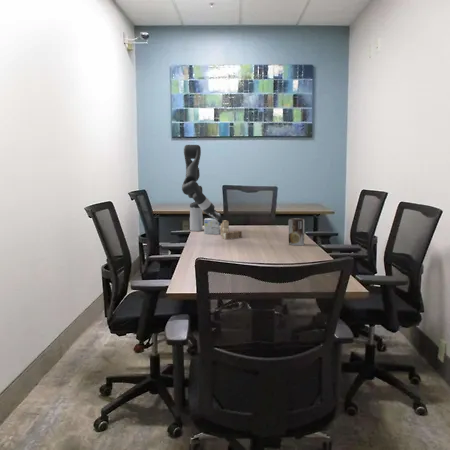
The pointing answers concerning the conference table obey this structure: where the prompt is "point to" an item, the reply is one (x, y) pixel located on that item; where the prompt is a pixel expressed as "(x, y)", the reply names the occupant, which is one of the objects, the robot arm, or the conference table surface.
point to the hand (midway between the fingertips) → (221, 222)
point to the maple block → (224, 226)
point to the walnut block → (231, 234)
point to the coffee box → (296, 231)
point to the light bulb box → (211, 226)
